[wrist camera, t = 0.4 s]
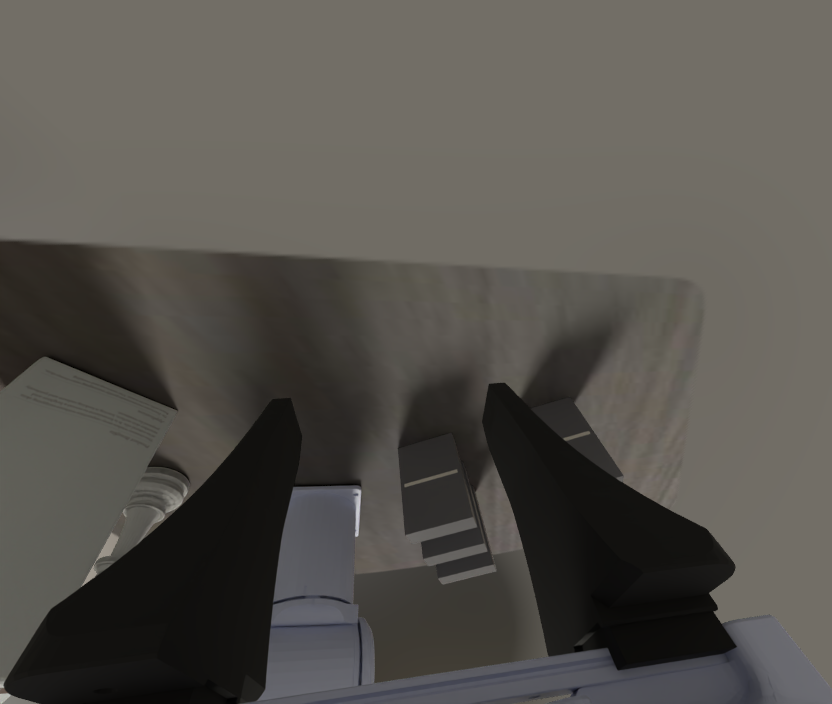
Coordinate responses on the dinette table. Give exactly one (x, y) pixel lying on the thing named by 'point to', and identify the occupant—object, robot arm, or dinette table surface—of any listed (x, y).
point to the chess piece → (147, 509)
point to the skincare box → (63, 486)
